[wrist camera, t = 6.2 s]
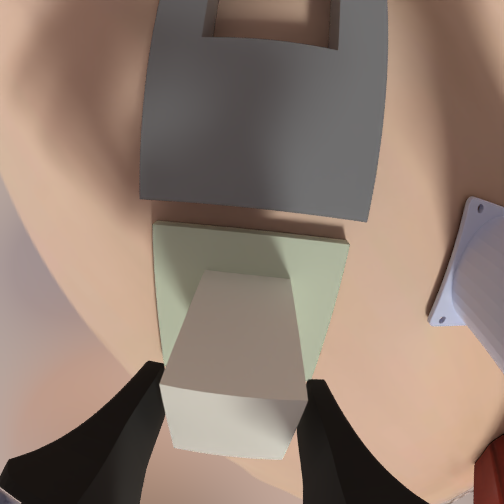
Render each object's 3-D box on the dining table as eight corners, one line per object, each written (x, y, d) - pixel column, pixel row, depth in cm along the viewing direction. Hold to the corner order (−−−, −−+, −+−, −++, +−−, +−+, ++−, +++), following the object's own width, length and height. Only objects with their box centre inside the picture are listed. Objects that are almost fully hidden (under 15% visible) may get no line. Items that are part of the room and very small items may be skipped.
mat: (346, 240, 13) (349, 244, 12) (309, 374, 16) (310, 381, 16) (156, 220, 13) (152, 224, 12) (166, 359, 16) (164, 365, 16)
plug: (290, 278, 13) (307, 400, 7) (278, 343, 15) (282, 459, 8) (204, 269, 13) (159, 384, 7) (203, 335, 15) (174, 447, 8)
